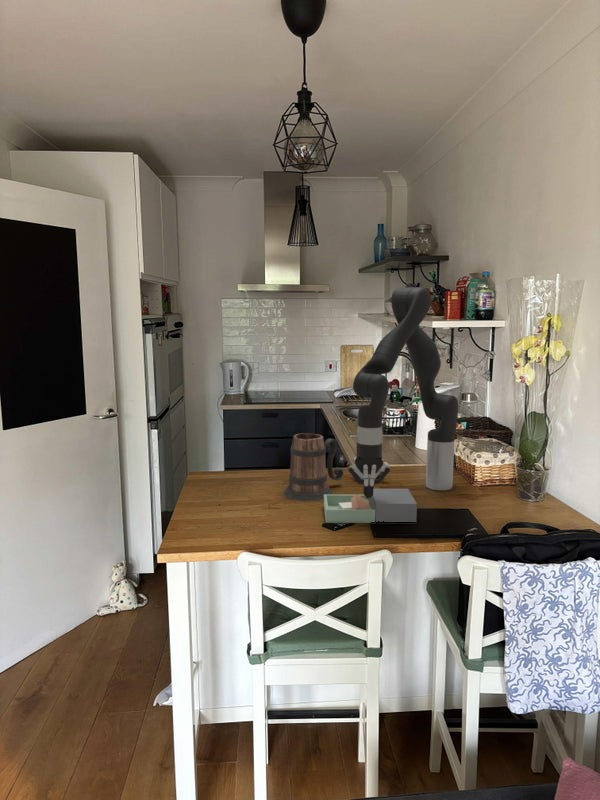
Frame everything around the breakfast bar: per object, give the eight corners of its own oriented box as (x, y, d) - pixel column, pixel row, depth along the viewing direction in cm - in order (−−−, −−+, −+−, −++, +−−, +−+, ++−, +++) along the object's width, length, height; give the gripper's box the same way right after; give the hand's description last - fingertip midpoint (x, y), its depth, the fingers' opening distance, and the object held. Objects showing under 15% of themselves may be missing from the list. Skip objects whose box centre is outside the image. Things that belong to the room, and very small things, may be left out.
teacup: (347, 478, 213) (347, 457, 212) (367, 473, 220) (367, 452, 219) (375, 487, 203) (376, 465, 202) (395, 481, 210) (396, 460, 209)
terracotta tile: (350, 498, 174) (356, 494, 173) (363, 505, 176) (368, 500, 175) (352, 511, 170) (358, 506, 169) (365, 517, 172) (370, 512, 171)
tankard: (302, 504, 185) (303, 444, 182) (273, 491, 199) (273, 434, 195) (357, 491, 199) (358, 434, 196) (326, 479, 212) (327, 426, 209)
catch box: (323, 506, 183) (323, 494, 183) (369, 506, 183) (369, 494, 183) (325, 522, 170) (325, 509, 169) (375, 523, 170) (375, 510, 169)
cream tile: (338, 502, 178) (338, 510, 178) (343, 508, 173) (342, 516, 173) (353, 501, 179) (353, 509, 179) (358, 507, 174) (358, 515, 174)
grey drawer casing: (369, 506, 183) (370, 488, 182) (407, 506, 184) (408, 488, 183) (375, 523, 170) (376, 503, 169) (416, 523, 170) (417, 503, 169)
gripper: (390, 438, 173) (388, 493, 176) (346, 437, 173) (345, 493, 176) (394, 444, 165) (392, 501, 168) (348, 443, 165) (347, 501, 168)
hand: (368, 497), depth 172 cm, fingers closed
